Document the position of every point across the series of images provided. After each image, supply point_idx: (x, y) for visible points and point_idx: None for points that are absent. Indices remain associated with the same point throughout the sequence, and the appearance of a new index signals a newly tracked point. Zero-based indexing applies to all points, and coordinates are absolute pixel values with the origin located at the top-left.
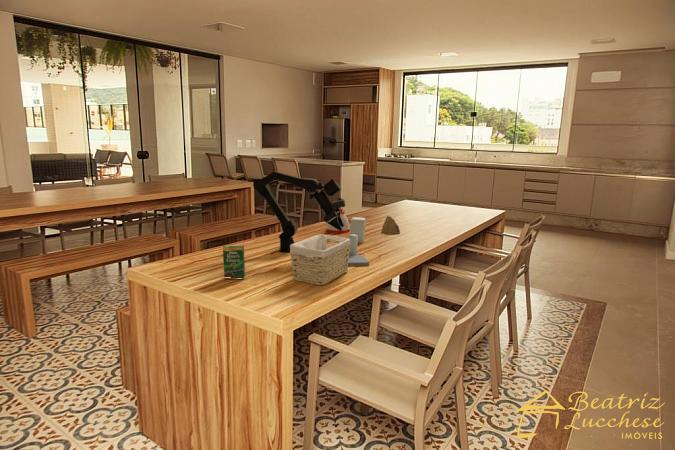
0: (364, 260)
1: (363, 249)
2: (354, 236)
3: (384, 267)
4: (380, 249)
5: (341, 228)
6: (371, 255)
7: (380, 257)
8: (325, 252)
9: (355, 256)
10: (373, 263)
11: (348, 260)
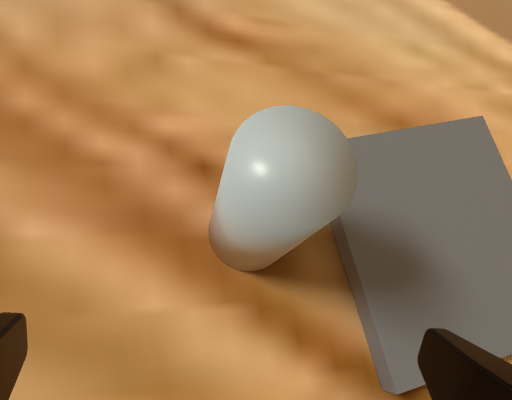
0: (454, 141)
1: (28, 133)
2: (352, 149)
3: (471, 47)
4: (23, 5)
5: (467, 341)
6: (222, 89)
7: (264, 38)
8: None
9: (373, 201)
10: (414, 96)
11: (493, 254)
